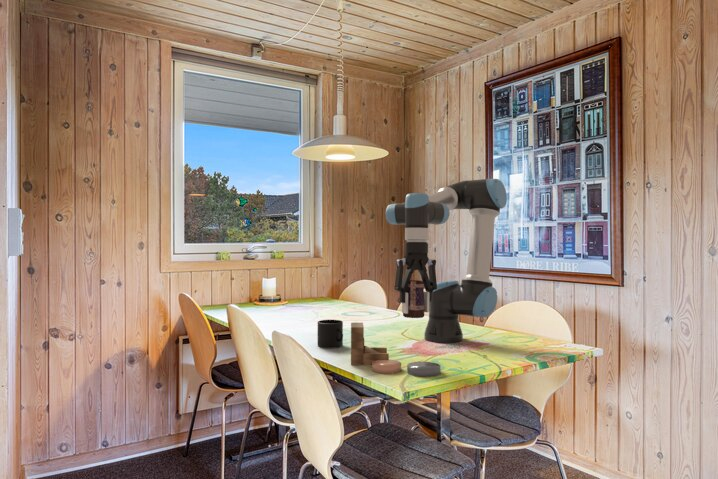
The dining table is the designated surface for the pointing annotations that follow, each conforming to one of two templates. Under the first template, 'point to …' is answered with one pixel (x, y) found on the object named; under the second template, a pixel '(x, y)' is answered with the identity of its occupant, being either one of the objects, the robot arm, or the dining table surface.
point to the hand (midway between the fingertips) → (415, 312)
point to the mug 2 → (415, 299)
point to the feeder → (364, 348)
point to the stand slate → (423, 369)
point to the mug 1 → (330, 333)
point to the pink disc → (386, 366)
